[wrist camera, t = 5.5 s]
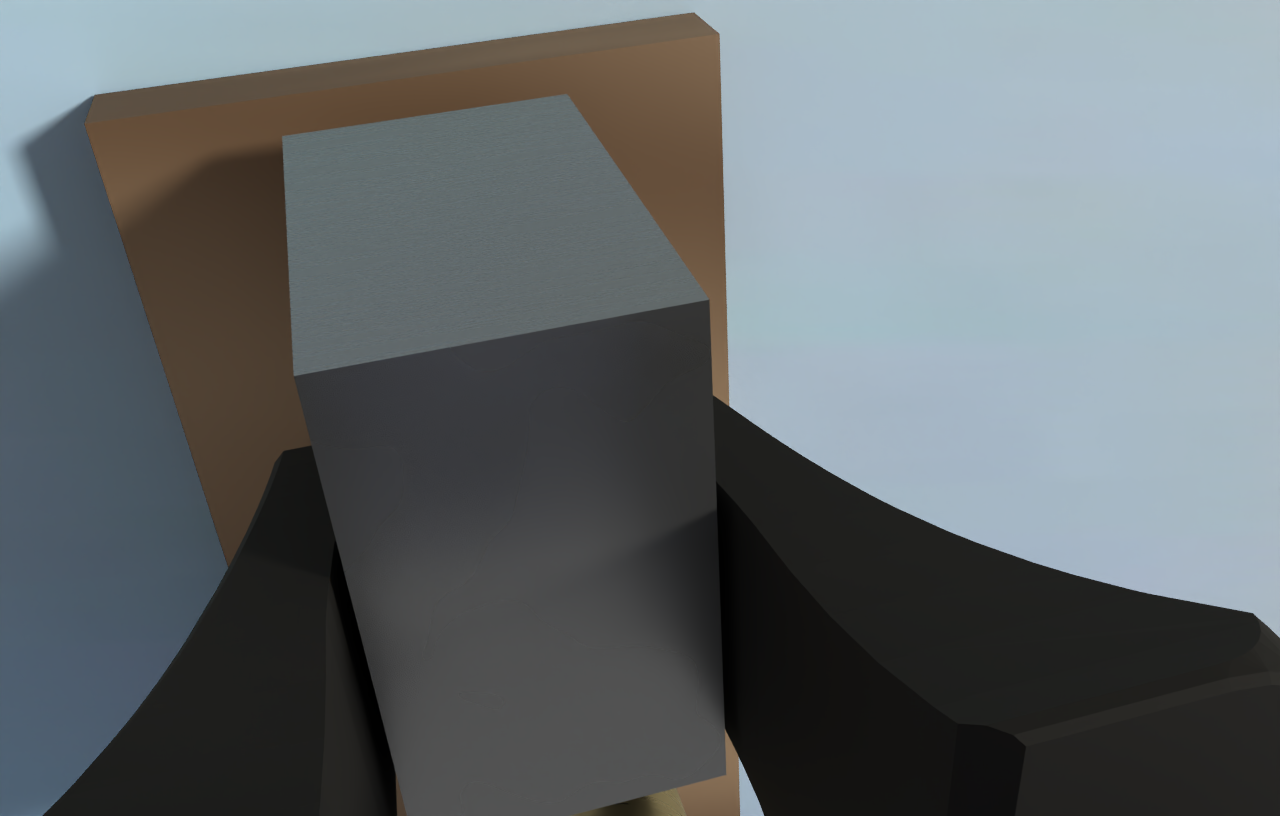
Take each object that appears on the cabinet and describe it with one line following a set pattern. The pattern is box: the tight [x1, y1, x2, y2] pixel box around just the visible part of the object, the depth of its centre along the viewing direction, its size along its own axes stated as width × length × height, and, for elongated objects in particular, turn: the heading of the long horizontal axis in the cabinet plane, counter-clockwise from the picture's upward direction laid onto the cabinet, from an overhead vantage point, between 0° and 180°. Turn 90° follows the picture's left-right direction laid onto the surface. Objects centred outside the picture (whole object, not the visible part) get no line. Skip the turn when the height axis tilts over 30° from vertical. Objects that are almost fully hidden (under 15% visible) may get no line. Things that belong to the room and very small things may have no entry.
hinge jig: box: [84, 13, 740, 816], centre depth 16 cm, size 17×7×6 cm, turn 4°
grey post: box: [282, 94, 726, 816], centre depth 13 cm, size 8×3×5 cm, turn 4°
